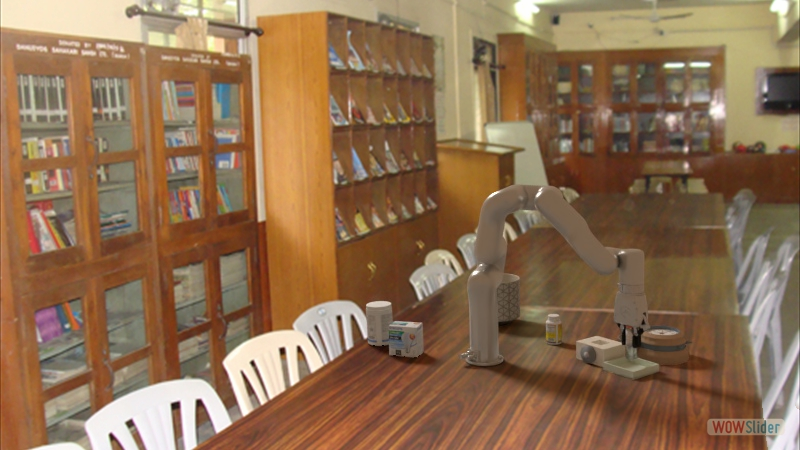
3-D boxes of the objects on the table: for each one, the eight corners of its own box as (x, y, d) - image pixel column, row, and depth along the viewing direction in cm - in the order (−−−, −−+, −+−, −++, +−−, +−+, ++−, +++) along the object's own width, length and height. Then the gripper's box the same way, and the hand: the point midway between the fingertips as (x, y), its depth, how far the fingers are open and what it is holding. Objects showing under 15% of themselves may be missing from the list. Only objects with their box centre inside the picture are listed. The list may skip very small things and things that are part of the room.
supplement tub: (393, 338, 290) (392, 300, 288) (394, 346, 281) (392, 306, 279) (367, 339, 290) (365, 301, 288) (367, 347, 281) (365, 307, 279)
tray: (633, 379, 238) (633, 372, 238) (603, 370, 248) (603, 362, 247) (658, 371, 244) (659, 364, 244) (628, 362, 254) (628, 355, 254)
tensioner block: (599, 368, 249) (600, 350, 248) (572, 359, 259) (572, 342, 258) (624, 361, 256) (625, 343, 255) (597, 352, 266) (597, 335, 265)
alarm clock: (680, 340, 246) (609, 330, 260) (680, 368, 247) (609, 357, 261) (695, 327, 260) (627, 318, 273) (695, 354, 261) (627, 344, 274)
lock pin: (632, 360, 243) (632, 326, 242) (623, 357, 246) (623, 324, 245) (639, 358, 245) (639, 324, 244) (630, 355, 248) (630, 322, 246)
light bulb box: (388, 355, 270) (387, 325, 269) (395, 350, 276) (394, 320, 275) (417, 358, 266) (417, 327, 265) (424, 352, 273) (423, 322, 271)
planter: (497, 332, 294) (497, 285, 292) (461, 323, 309) (460, 278, 306) (530, 322, 307) (529, 277, 304) (494, 314, 321) (493, 271, 318)
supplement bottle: (559, 340, 281) (559, 312, 280) (563, 344, 276) (563, 316, 274) (544, 341, 281) (543, 313, 279) (548, 345, 275) (548, 317, 274)
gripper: (602, 286, 247) (602, 342, 250) (645, 294, 234) (644, 354, 236) (618, 282, 251) (618, 337, 254) (661, 291, 238) (660, 349, 240)
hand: (631, 345), depth 245 cm, fingers closed on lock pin, 3 cm apart
